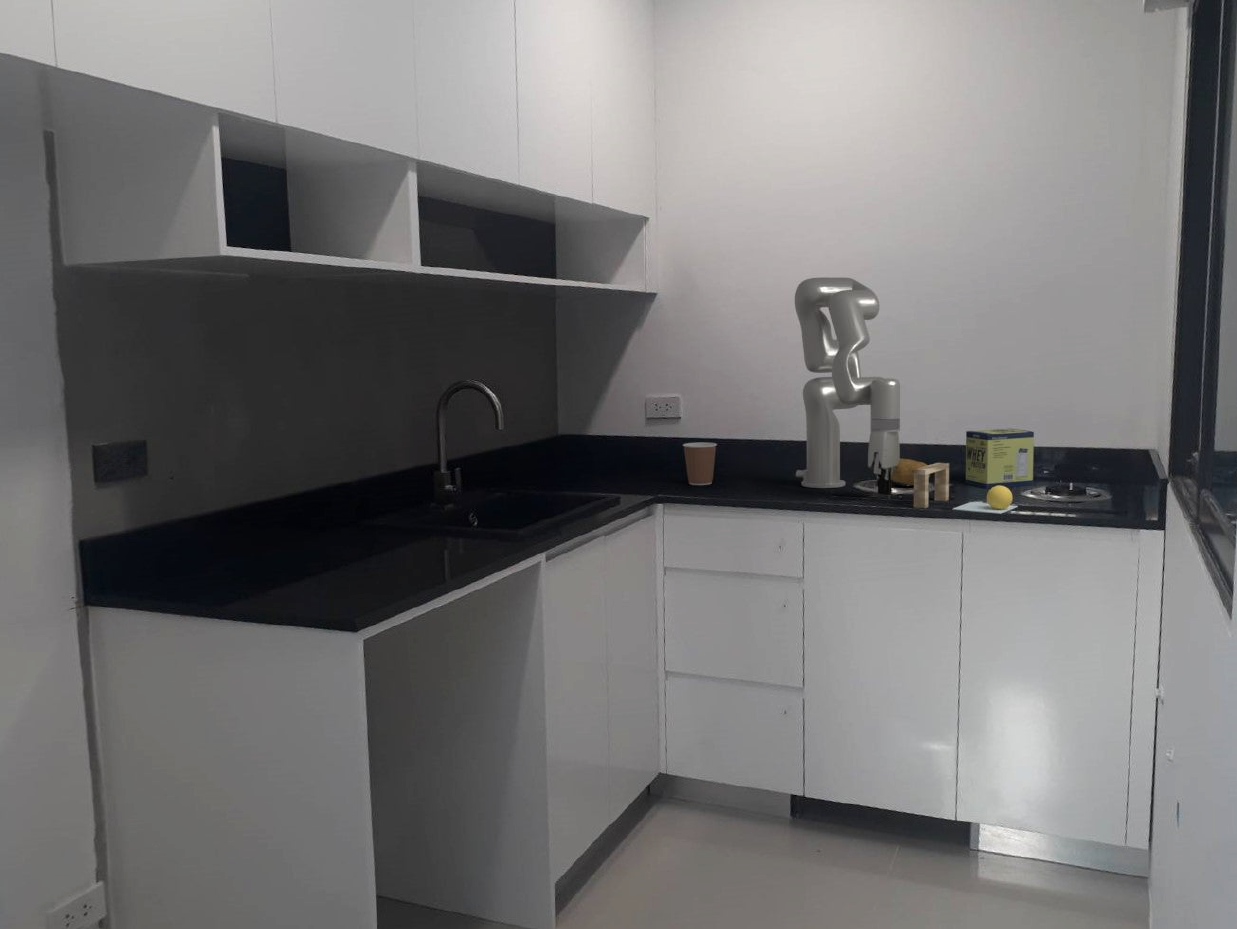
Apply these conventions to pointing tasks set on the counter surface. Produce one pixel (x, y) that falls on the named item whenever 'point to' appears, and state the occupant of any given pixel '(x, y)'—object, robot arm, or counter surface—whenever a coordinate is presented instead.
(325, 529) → the counter surface
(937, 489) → the bridge
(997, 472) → the protein box
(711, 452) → the coffee cup
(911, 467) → the potato
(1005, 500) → the ball
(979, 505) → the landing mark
